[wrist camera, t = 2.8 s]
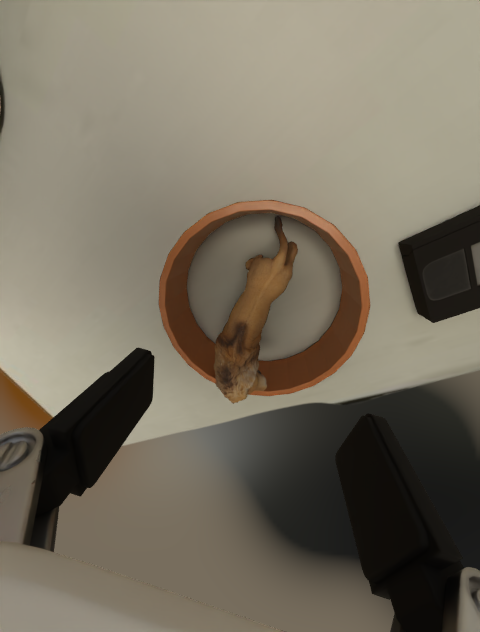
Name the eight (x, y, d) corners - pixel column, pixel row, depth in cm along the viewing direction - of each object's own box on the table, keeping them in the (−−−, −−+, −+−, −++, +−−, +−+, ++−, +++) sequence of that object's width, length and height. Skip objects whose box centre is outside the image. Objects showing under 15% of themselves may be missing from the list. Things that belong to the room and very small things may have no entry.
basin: (176, 343, 26) (155, 368, 21) (191, 185, 18) (164, 174, 14) (310, 380, 25) (318, 414, 21) (382, 231, 18) (419, 235, 13)
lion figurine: (266, 355, 25) (262, 420, 17) (222, 344, 25) (198, 403, 17) (305, 222, 18) (331, 222, 10) (247, 210, 19) (226, 201, 11)
